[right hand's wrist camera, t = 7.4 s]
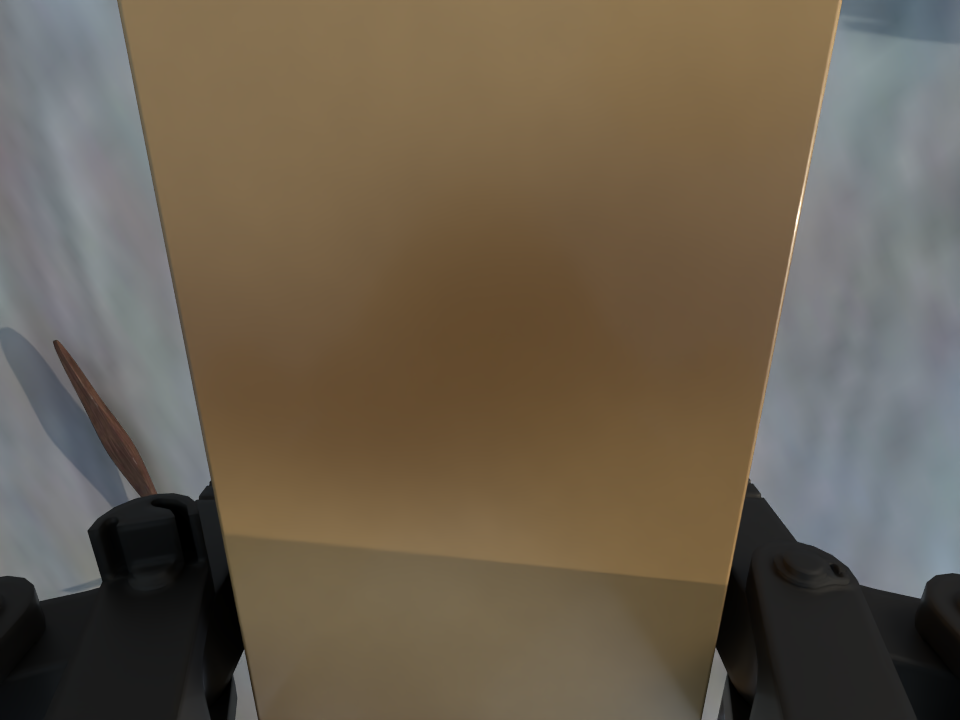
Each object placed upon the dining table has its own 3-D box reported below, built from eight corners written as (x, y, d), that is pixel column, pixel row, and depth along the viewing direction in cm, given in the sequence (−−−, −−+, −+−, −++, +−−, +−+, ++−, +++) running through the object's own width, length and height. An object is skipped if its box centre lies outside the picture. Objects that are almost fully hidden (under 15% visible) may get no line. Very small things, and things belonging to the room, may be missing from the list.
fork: (89, 328, 26) (59, 343, 24) (245, 599, 32) (230, 629, 30) (37, 344, 26) (2, 361, 24) (201, 610, 32) (183, 640, 30)
